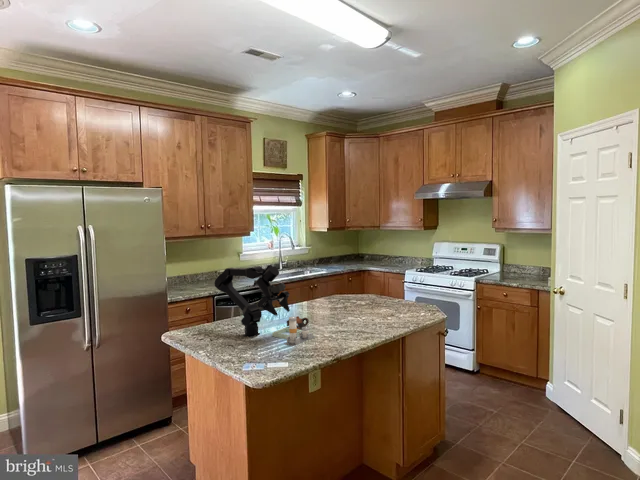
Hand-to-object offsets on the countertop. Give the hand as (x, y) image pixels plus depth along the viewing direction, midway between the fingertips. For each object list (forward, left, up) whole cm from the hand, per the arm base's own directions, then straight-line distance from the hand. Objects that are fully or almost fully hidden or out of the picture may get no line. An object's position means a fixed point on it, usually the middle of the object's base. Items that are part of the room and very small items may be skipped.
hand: (283, 313), depth 200 cm
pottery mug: (-6, +19, -14) cm, 25 cm away
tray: (-3, +6, -14) cm, 15 cm away
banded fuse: (+7, -2, -13) cm, 15 cm away
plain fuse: (+8, +7, -13) cm, 17 cm away
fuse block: (+8, +2, -14) cm, 16 cm away
